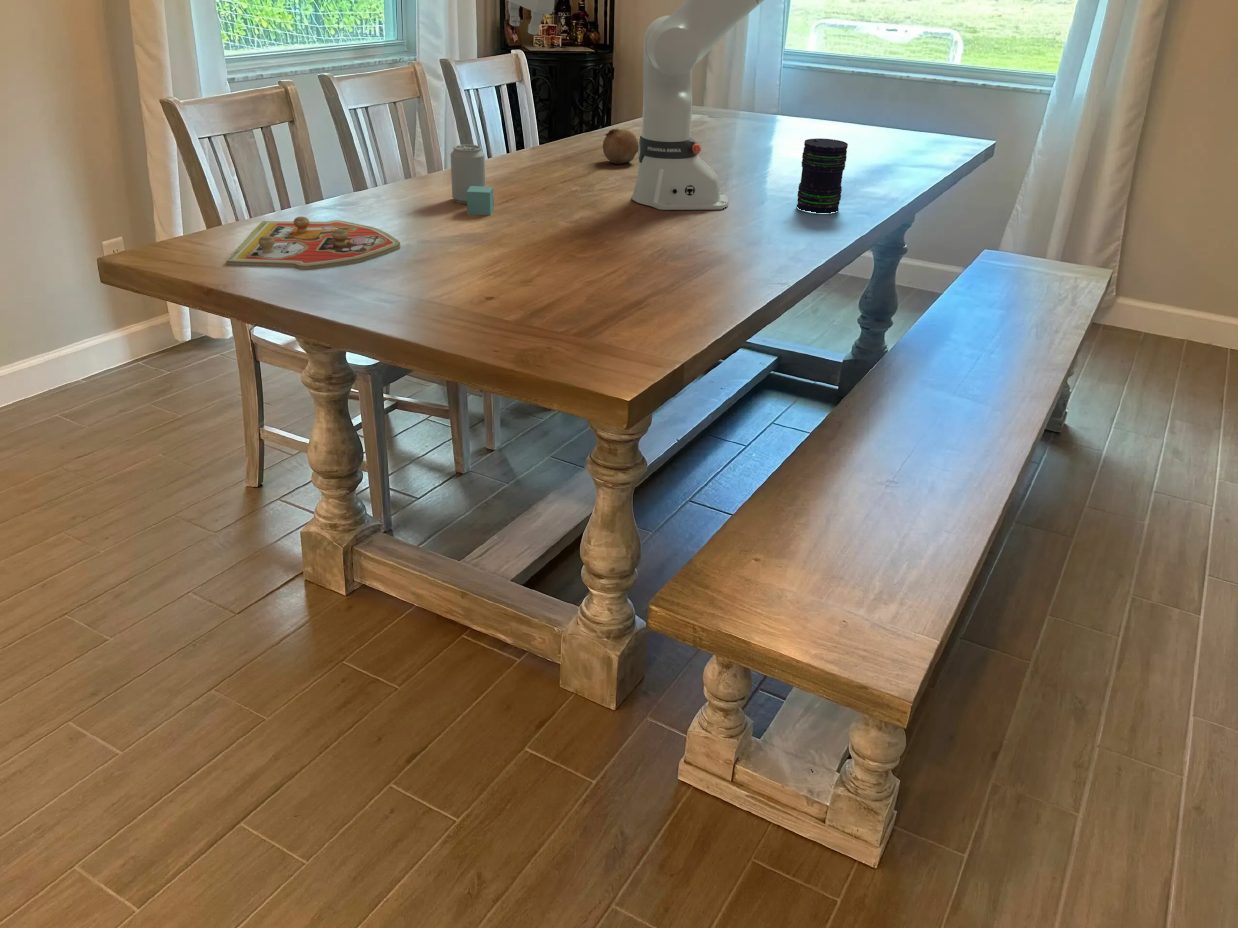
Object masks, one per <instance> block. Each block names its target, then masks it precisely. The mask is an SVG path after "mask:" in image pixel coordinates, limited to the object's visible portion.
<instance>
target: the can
mask: <svg viewBox="0 0 1238 928" xmlns="http://www.w3.org/2000/svg"><path fill="white" fill-rule="evenodd" d="M452 148H453V150H452V152H451V153H450V154H449V155H450V174H451V176H450V177H451V193H452V194H451V195H452V196H451V197H452V198H453V199H454V200H455V202H457V203H458V204H464V205H465V204H466V205H467V190H468V189H469V187H470V186H482V187H486V161H485V159H486V158H485V155H486V154H485V153H484V152H483V151H482V147H481V146H480V145H476V144H465V143H464V144H457V145H454V146H453V147H452Z"/></svg>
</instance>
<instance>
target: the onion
mask: <svg viewBox="0 0 1238 928" xmlns="http://www.w3.org/2000/svg"><path fill="white" fill-rule="evenodd" d="M604 136H605V137H604V139H603V141H602V149H603V150H602V151H603V154H604V156H605V158H606V159H607V161H610V162H611V163H612V164H615V165H621V164H629V163H630V162H632V161H633V160H634V159H635V157H636V155H637V153H638V150H639V141H638V140H639V139H638V138H637V135H636V134H635V133H634V132H633V131H631V130H629V129H624V128H621V129H620V128H612V129H610V130H609V131H607V133H606V134H605V135H604Z"/></svg>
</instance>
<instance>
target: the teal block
mask: <svg viewBox="0 0 1238 928" xmlns="http://www.w3.org/2000/svg"><path fill="white" fill-rule="evenodd" d="M494 205H495V203H494V187H493V186H485V187H482V186H470V187H469V189H468V190H467V204H466V209H467V210H466V211H467V212H466V213H467V215H473V216H474V215H478V216H491V215H492V213H493V212H494V211H495V209H494V207H495V206H494Z"/></svg>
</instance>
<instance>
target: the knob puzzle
mask: <svg viewBox="0 0 1238 928" xmlns="http://www.w3.org/2000/svg"><path fill="white" fill-rule="evenodd" d="M400 249H401V242H400V241H399V240H398V239H397V238H395V237H394V236H392V235H391V234H389V233H387V232H386V231H384V230H381V229H379V228H376V227H374V226H370V225H364V224H360V223H354V222H350V221H345V220H340V219H339V220H338V219H337V220H336V219H335V220H328V221H310V220H309V219H308V217H305V216H297V217H295V218H294V219H293V221H292V220H291V221H290V220H289V221H286V220H285V221H283V220H280V221H278V220H276V221H275V220H263V221H261V222H260V223H259V224H258V225H256V227H255V229H253V230H252V232H251V233H250V234H249V235H247V237H246V238H245V239H244V240H243V241H242V243H240V245H239V246H238V247H237V248H236V249H235V250H234V251H233V252H232V253H231V254H230V256H229V257H228V258H227V259H226V265H227V266H233V267H262V268H263V267H264V268H265V267H267V268H270V267H271V268H292V269H297V270H299V271H308V270H309V271H312V270H319V269H320V270H321V269H328V268H336V267H341V266H347V265H348V266H349V265H354V264H360V263H363V262H367V261H371V260H374V259H377V258H380V257H383V256H386V255H389V254H392V253H393V252H396V251H399V250H400Z"/></svg>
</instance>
